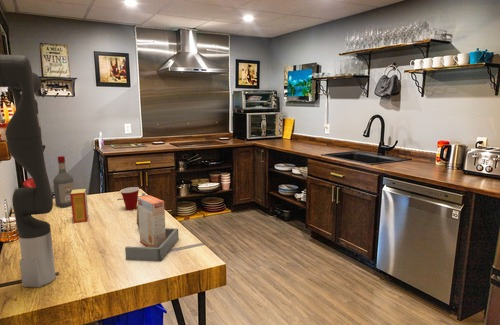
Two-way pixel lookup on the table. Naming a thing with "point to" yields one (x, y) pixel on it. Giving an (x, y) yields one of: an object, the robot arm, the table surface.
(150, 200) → the cracker box
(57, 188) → the liquor
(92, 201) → the table surface
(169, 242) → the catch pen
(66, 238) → the table surface
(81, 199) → the baking soda box
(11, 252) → the table surface
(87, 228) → the table surface
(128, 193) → the plastic cup
